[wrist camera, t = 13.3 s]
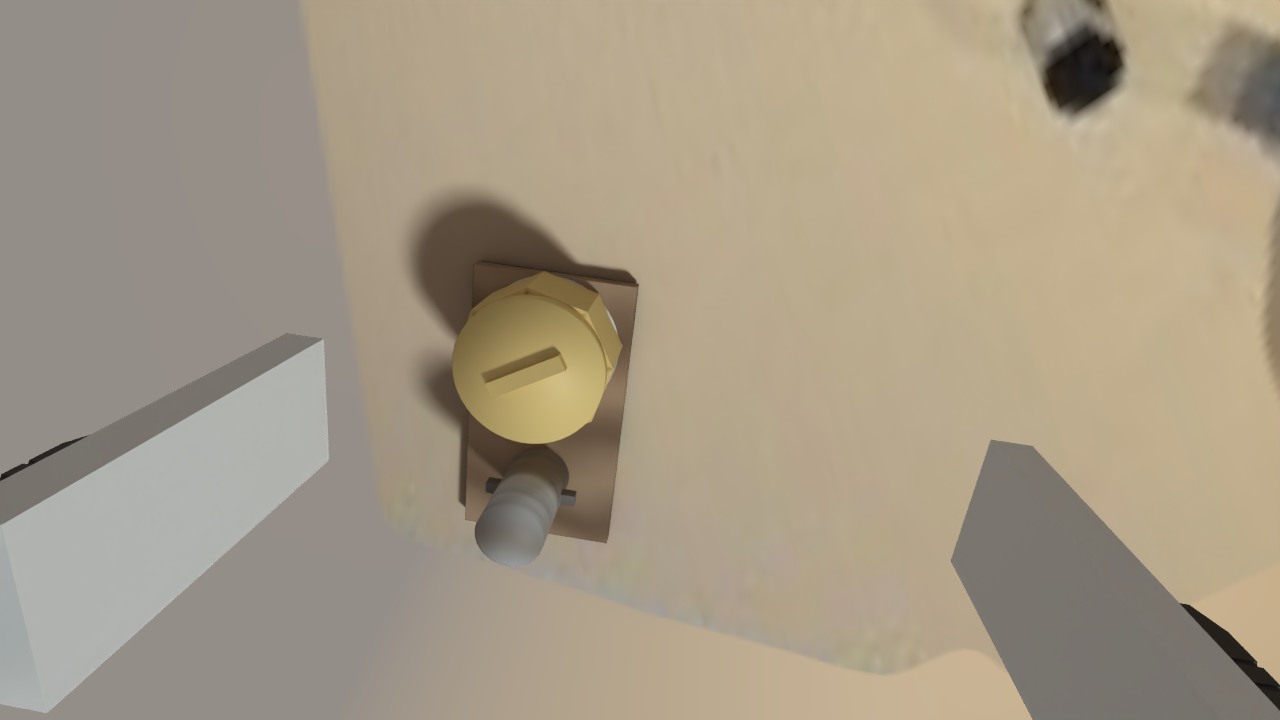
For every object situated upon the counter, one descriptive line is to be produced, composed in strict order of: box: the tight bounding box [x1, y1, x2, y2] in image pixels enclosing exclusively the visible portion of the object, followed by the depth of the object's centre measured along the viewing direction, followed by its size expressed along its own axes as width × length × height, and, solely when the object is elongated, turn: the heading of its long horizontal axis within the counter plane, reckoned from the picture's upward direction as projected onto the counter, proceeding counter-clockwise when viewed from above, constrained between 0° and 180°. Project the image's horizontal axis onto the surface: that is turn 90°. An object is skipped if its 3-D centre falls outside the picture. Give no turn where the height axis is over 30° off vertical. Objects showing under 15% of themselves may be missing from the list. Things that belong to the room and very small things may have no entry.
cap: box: [452, 271, 623, 444], centre depth 44 cm, size 9×9×6 cm
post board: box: [465, 261, 639, 566], centre depth 46 cm, size 20×11×9 cm, turn 173°
